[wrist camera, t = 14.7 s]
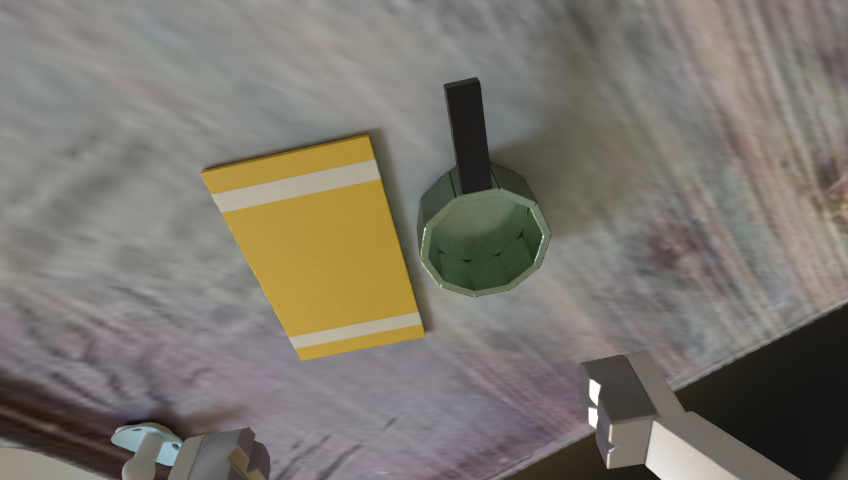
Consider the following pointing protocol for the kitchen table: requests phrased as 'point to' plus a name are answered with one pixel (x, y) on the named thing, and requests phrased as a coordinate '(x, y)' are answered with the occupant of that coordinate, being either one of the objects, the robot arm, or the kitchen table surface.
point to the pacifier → (146, 448)
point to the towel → (322, 245)
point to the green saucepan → (478, 211)
